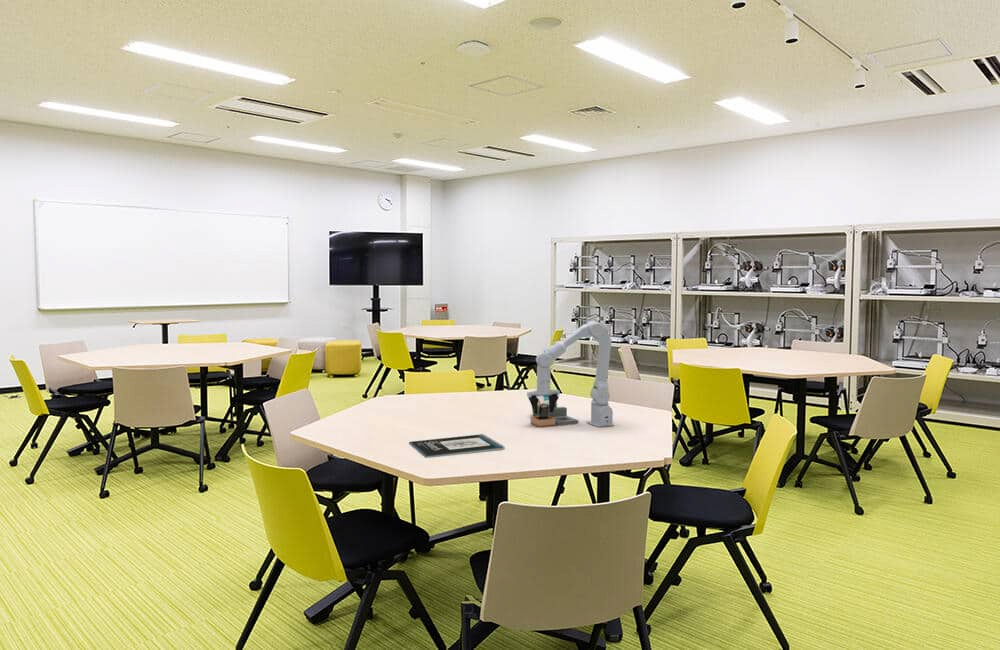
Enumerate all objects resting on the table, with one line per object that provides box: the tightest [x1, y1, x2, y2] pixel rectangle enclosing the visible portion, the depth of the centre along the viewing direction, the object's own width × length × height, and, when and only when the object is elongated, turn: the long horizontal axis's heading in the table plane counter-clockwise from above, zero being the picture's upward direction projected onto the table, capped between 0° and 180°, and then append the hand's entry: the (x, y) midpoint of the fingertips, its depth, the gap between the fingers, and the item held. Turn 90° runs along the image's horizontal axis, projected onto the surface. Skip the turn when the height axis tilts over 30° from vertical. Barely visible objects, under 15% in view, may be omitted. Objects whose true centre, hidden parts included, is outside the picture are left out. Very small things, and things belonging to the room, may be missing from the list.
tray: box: [530, 415, 556, 428], centre depth 286 cm, size 8×8×3 cm
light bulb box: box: [531, 394, 558, 417], centre depth 301 cm, size 11×7×11 cm
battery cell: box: [537, 403, 548, 420], centre depth 285 cm, size 4×4×8 cm
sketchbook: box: [408, 433, 506, 459], centre depth 248 cm, size 22×30×2 cm
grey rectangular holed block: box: [548, 406, 579, 426], centre depth 292 cm, size 13×10×5 cm
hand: (543, 412), depth 285 cm, fingers open, 7 cm apart
